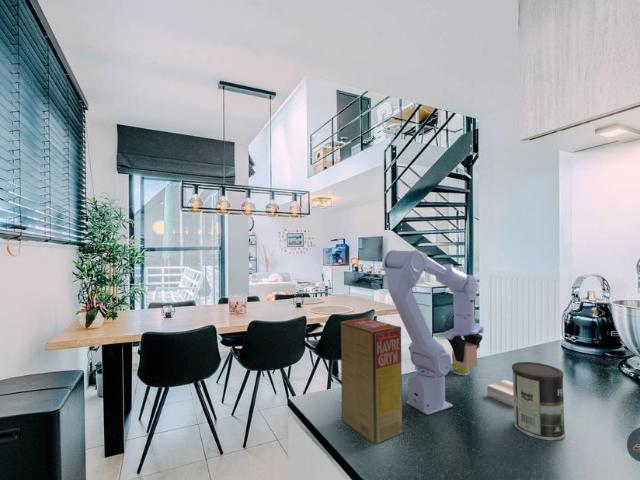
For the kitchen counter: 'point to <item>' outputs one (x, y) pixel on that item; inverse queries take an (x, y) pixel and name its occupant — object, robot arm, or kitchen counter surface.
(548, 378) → the coffee can
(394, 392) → the food packaging
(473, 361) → the terracotta block
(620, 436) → the kitchen counter surface
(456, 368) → the supplement bottle
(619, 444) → the kitchen counter surface
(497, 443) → the kitchen counter surface
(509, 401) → the base
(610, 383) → the kitchen counter surface
